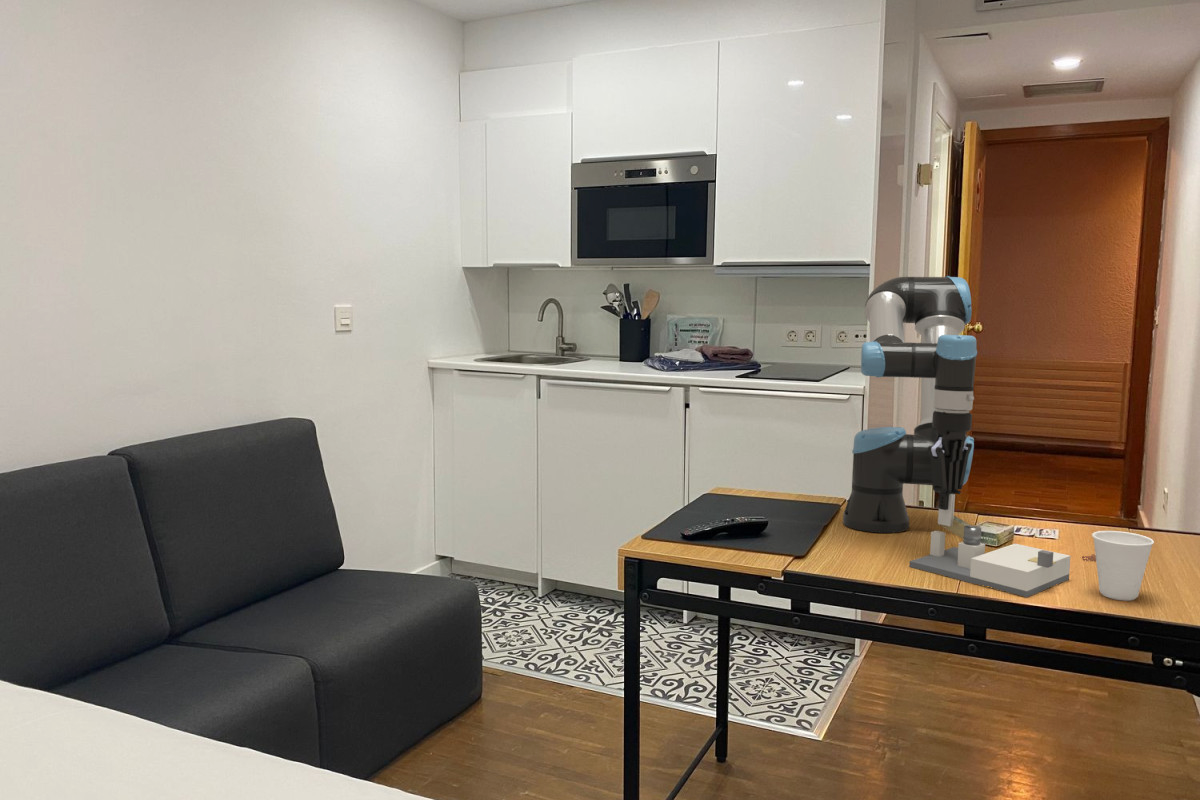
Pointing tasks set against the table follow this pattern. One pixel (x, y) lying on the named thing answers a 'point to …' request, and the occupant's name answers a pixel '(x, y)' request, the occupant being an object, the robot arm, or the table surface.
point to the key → (1090, 558)
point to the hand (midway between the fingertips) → (945, 524)
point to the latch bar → (965, 531)
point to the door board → (964, 573)
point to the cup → (1121, 562)
